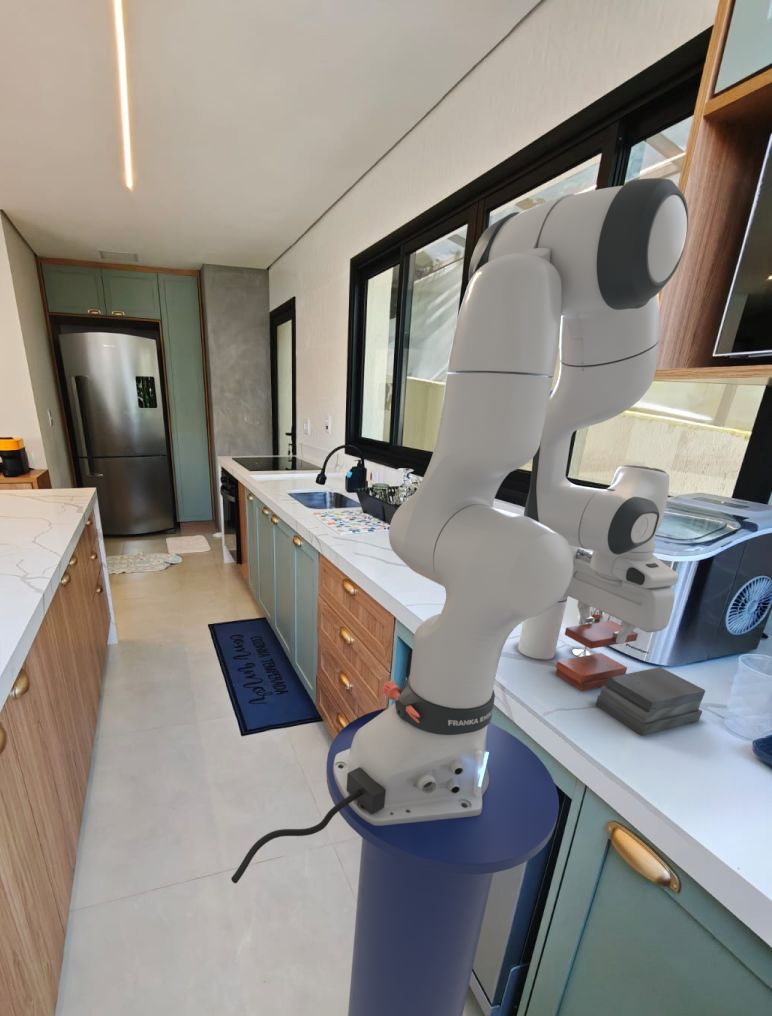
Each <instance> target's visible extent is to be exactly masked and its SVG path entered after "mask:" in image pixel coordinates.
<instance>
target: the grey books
mask: <svg viewBox="0 0 772 1016" xmlns="http://www.w3.org/2000/svg"><path fill="white" fill-rule="evenodd" d="M600 689H601V690H600V693H599V695H597V698H596V701H595V706H596V707H597V708H599V709H600V710H602V711H603V712H605V713H606V714H608V715H610V717H613V718H614V719H616V720H617V721H618V722H620V723H622V724H623V725H625V726H626V727H628V728H629V729H630V730H632V731H634V732H635V733H636V734H638V735H639V736H641V737H643V736H647V735H651V734H654V733H659V732H663V731H666V730H670V729H673V728H679V727H682V726H685V725H690V724H693V723H696V722H697V723H698V722H700V719H701V717H702V713H703V710H702V709H700V706H701V703H702V700H703V698H704V696H705V693H706V690H705V689H704V688H702V687H700V686H698V685H696V684H694V683H692V682H690V681H688V680H686V679H684V678H682V677H680V676H679V675H676V674H675V673H673V672H671V671H669V670H667V669H665V668H663V667H661V666H658V667H653V668H648V669H643V670H637V671H634V672H629V673H626V674H623V675H618V676H613V677H609V680H608V683H607V685H604V686H602V687H601V688H600Z"/></svg>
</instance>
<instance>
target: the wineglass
mask: <svg viewBox="0 0 772 1016" xmlns="http://www.w3.org/2000/svg"><path fill="white" fill-rule="evenodd" d="M589 609H590V616H591V617H593V618H594V619H593V621H592V623H598V622H605V621H611V615H608V614H606V613H604V612H602V611H600V610H598V609H595V608H593V607H589ZM579 621H580V613H579V610H578V612H577V622H578V623H579ZM579 625H581V624H579ZM572 654H573V655H575V656H576V657H582V656H587V655H593V654H595V652H593V651H591V650H589V649H588V647H586V646H584V647H583V648H574V649H572Z"/></svg>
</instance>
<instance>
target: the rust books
mask: <svg viewBox="0 0 772 1016" xmlns="http://www.w3.org/2000/svg"><path fill="white" fill-rule="evenodd" d="M555 668H556V669H555V675H556V676H558V677H559V678H561V679H563V680H564V681H565V682H567V683H569V684H570V685H571V686H573V687H575V688H576V689H578V690H579V691H581V692H584V691H587V690H593V689H598V688H602V686H604V685H607V683H608V680H609V677H613V676H618V675H623V674H627V670H628V667H627V666H625V665H624V664H622V663H620V662H619V661H617V660H615V659H613V658H611V657H610V656H607V655H606V654H604V653H602V652H599V653H594V654H593V655H587V656H582V657H578V656H576V657H572V658H565V659H561V660H557V661H556V665H555Z"/></svg>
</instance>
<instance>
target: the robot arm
mask: <svg viewBox="0 0 772 1016" xmlns="http://www.w3.org/2000/svg"><path fill="white" fill-rule="evenodd" d="M688 232H689V207H688V203H687V199H686V197H685V194H684V193H683V192H682V191H681V189H680V188H679V187H678V186H677V185H676V184H675V182H674V181H673V180H672V179H669V178H658V177H652V178H651V177H650V178H639V179H632V180H629V181H627V182H626V183H625V184H624V185H616V186H611V187H605V188H599V189H594V190H589V191H584V192H580V193H577V194H574V193H569V194H565V195H562V196H559V197H556V198H552V199H550V200H547V201H544V202H541V203H539V204H536V205H534V206H532V207H530V208H528V209H525V210H523V211H521V212H519V211H516V212H511V213H510V214H508V215H505V216H503V217H502V218H499V219H498V220H497V221H495V222H494V223H492V224H491V225H490V226H488V227H487V228H486V229H485V230H484V231H483V233H482V234H481V236H480V237H479V239H478V240H477V243H476V244H475V247H474V250H473V253H472V256H471V258H470V263H469V269H468V284H467V286H466V290H465V292H464V295H463V299H462V302H461V304H460V308H459V312H458V316H457V319H456V323H455V328H454V332H453V336H452V339H451V340H452V341H451V346H450V351H449V355H448V356H449V357H448V363H447V369H446V377H445V385H444V391H443V397H442V405H441V412H440V418H439V424H438V429H437V436H436V441H435V445H434V448H433V452H432V455H431V458H430V461H429V464H428V466H427V469H426V471H425V473H424V475H423V477H422V479H421V481H420V483H419V485H418V487H417V489H416V490H415V492H414V493H413V494H412V495H411V496H410V497H409V498H408V499H406V500H405V501H403V502H402V503H401V504H400V505H399V507H398V508H397V509H396V510H395V512H394V514H393V516H392V518H391V520H390V522H389V523H390V524H389V528H388V540H389V545H390V548H391V550H392V551H393V553H394V554H395V555H396V557H398V558H399V559H400V560H401V562H403V564H405V565H406V566H407V567H408V568H409V569H410V570H411V571H412V572H414V573H416V574H418V575H419V576H422V577H423V578H425V579H428V580H430V581H431V582H434V583H436V584H437V585H440V586H442V587H443V588H444V590H445V601H444V605H443V607H442V610H441V612H440V613H437V614H434V615H432V616H430V617H428V618H426V619H425V620H424V621H422V622H421V623H420V624H419V625H418V626H417V628H416V630H415V631H414V634H413V641H412V642H413V643H412V650H411V651H412V653H411V660H410V661H411V662H410V670H409V675H408V676H407V678H406V679H405V682H404V683H403V685H402V688H400V687H399V686H398V685H397V684H396V683H395V682H394V680H393V681H392V680H388V681H386V682H384V684H383V685H382V693H384V694H385V695H386V696H387V698H388V699H389V700H391V701H394V700H395V701H394V703H393V704H391V705H390V706H388V707H386V708H387V709H386V710H385V711H383V712H382V713H381V714H379V715H378V716H377V717H375V718H374V719H372V720H371V721H370V722H368V723H367V724H365V725H364V726H363V727H361V728H360V729H359V730H358V731H357V732H356V734H355V736H354V738H353V741H352V745H351V748H350V749H347V750H345V751H342V752H340V753H338V754H337V755H336V756H335V759H334V765H333V773H334V777H335V781H336V783H337V786H338V788H339V790H340V792H341V794H342V795H343V797H344V799H343V800H342V801H341V802H339V803H338V804H337V805H334V806H333V807H331V808H330V810H329V811H328V812H327V813H326V814H325V816H324V818H323V819H322V820H321V821H320V822H319V823H318V824H316V825H313V826H311V827H305V828H283V829H276V830H273V831H270V832H267V834H265V835H263V836H262V837H261V838H259V839H257V841H256V842H255V843H254V844H253V845H251V847H250V849H249V850H248V852H247V853H246V855H245V857H244V858H243V859H242V861H241V862H240V865H239V866H238V868H237V869H236V871H235V873H234V874H233V875H232V876H231V882H232V883H233V884H237V883H238V882H240V880H241V878H242V876H243V875H244V873H245V872H246V871H247V869H248V867H249V865H250V863H251V861H252V860H253V858H254V857H255V856H256V854H257V853H258V851H259V850H260V849H261V848H262V847H263V846H264V845H266V844H267V843H269V842H270V841H272V840H274V839H277V838H281V837H305V836H310V835H315V834H317V833H319V832H321V831H323V830H324V829H325V828H326V827H327V826H328V825H329V823H330V822H331V820H332V819H333V817H334V816H336V815H337V814H338V813H339V811H340V810H341V809H342V808H343V807H345V806H346V805H348V804H349V806H350V807H351V808H352V809H353V810H354V812H355V813H357V814H358V815H359V816H360V817H361V818H362V819H364V820H365V821H367V822H368V823H370V824H372V825H375V826H383V825H394V824H403V823H413V822H423V821H433V820H442V819H452V818H462V817H471V816H478V815H480V814H481V812H482V796H483V794H484V793H485V791H486V789H487V787H488V784H489V775H488V770H487V758H488V754H489V752H486V736H487V725H488V724H489V722H490V723H491V721H492V717H493V713H494V705H495V700H496V699H495V697H496V693H495V690H494V686H495V680H496V677H497V671H498V667H499V662H500V658H501V655H502V651H503V649H504V646H505V644H506V642H507V640H508V638H509V637H510V635H511V633H512V632H513V631H514V630H515V629H516V628H517V626H519V625H520V624H521V623H523V621H524V620H526V619H529V618H532V617H535V616H538V615H540V614H542V613H544V612H546V611H547V610H549V609H550V608H551V607H553V606H554V605H555V604H556V603H557V602H558V601H559V600H560V599H561V598H562V596H563V595H564V594H565V595H567V596H568V597H569V598H571V599H574V600H576V601H577V604H576V605H577V609H578V611H579V613H580V621H579V622H578V624H579V625H580V624H581V625H586V624H592V621H593V619H594V618H593V617H591V616H590V609H589V607H593V608H595V609H598V610H600V611H602V612H604V613H606V614H608V615H610V617H613V618H615V619H617V620H619V621H621V623H620V625H621V626H622V627H624V628H623V629H621V630H620V631H618V632H613V635H612V636H613V637H612V641H614V642H616V643H618V644H617V645H622V644H623V645H624V644H626V643H627V642H626V638H627V635H628V634H629V633H631V632H632V631H634V630H636V629H639V630H641V631H643V632H646V633H656V632H661V631H662V630H664V629H666V628H667V627H668V626H669V623H670V620H671V617H672V614H673V609H674V605H675V592H674V589H673V588H672V587H671V586H674V585H676V584H677V583H678V581H679V573H678V572H677V571H675V570H674V569H672V568H671V567H669V566H668V565H667V564H666V563H664V561H661V560H660V559H659V558H658V557H657V556H656V555H654V553H655V552H654V551H655V546H656V543H655V540H656V536H657V535H656V534H657V532H658V530H659V529H660V528H661V526H662V523H663V521H664V516H665V512H666V507H667V504H668V503H667V502H668V497H669V490H670V474H669V473H667V472H666V471H665V470H663V469H660V468H656V467H649V466H646V465H645V466H644V465H637V464H636V465H634V464H624V465H622V466H619V467H618V468H617V469H616V471H615V473H614V475H613V477H612V480H611V483H610V486H609V487H607V488H605V489H604V488H597V487H596V488H595V487H590V486H583V485H577V484H574V483H572V482H571V481H569V480H568V478H567V476H566V475H567V467H568V460H569V453H570V446H571V440H572V436H573V433H574V432H576V431H579V430H581V429H584V428H585V429H586V428H587V427H592V426H594V425H597V424H601V423H604V422H606V421H609V420H611V419H613V418H615V417H617V416H619V415H621V414H623V413H624V412H626V411H627V410H630V409H631V408H632V407H633V406H634V405H636V404H637V403H638V402H639V401H640V400H641V399H642V398H643V397H644V396H645V395H646V393H647V392H648V390H649V389H650V387H651V385H652V384H653V381H654V378H655V375H656V371H657V367H658V359H659V346H660V345H659V344H660V325H661V324H660V323H661V322H660V296H659V293H660V292H661V291H662V290H663V289H664V288H665V286H666V285H667V284H668V283H669V281H670V280H671V279H672V277H673V276H674V275H675V273H676V272H677V269H678V267H679V265H680V264H681V263H680V262H681V260H682V257H683V254H684V251H685V248H686V244H687V239H688ZM558 352H559V373H558V377H557V381H556V385H555V386H554V388H553V389H552V387H553V386H552V385H553V381H554V377H555V370H556V367H557V366H556V365H557V360H558ZM531 460H532V463H531V471H530V472H531V473H530V484H529V491H528V495H527V498H526V501H525V507H524V511H523V515H522V514H519V513H514V512H511V511H507V510H503V509H499V508H497V507H496V508H495V507H494V501H495V498H496V496H497V493H498V491H499V488H500V486H501V485H502V483H503V481H504V480H505V479H506V477H508V475H509V474H510V473H511V472H514V471H516V470H518V469H520V468H522V467H523V466H525V465H527V464H528V463H530V462H531ZM570 545H572V546H576V547H579V549H578V551H577V553H578V554H577V556H576V559H573V555H572V551H571V547H570ZM625 642H626V643H625ZM464 807H465V808H464ZM363 808H365V809H363Z"/></svg>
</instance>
